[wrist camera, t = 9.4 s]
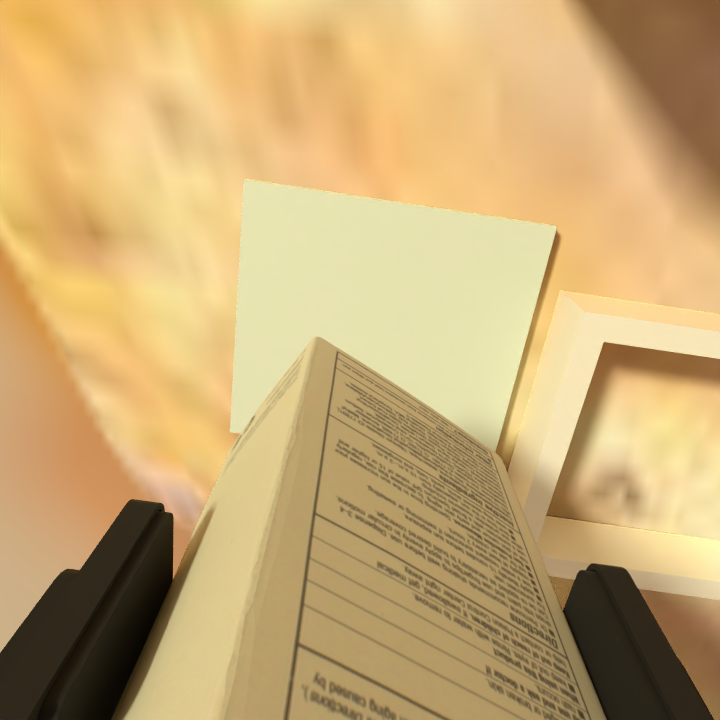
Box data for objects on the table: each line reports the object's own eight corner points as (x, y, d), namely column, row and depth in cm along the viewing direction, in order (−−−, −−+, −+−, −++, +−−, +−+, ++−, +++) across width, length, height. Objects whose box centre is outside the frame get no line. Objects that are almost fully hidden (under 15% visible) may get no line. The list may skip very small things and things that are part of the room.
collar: (847, 332, 22) (912, 360, 20) (731, 559, 27) (771, 607, 24) (559, 289, 22) (584, 311, 20) (492, 525, 27) (504, 569, 24)
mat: (552, 224, 21) (557, 226, 21) (488, 462, 26) (490, 469, 25) (247, 179, 21) (243, 179, 21) (233, 425, 25) (229, 432, 25)
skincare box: (226, 449, 15) (-305, 1500, 3) (317, 325, 13) (-76, 1430, 2) (416, 565, 16) (495, 1626, 5) (517, 463, 14) (1000, 1637, 3)
